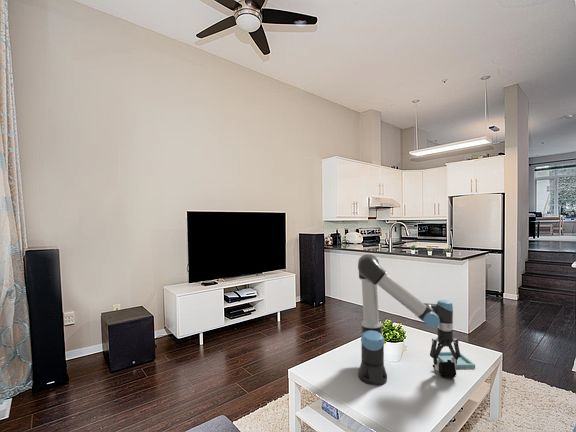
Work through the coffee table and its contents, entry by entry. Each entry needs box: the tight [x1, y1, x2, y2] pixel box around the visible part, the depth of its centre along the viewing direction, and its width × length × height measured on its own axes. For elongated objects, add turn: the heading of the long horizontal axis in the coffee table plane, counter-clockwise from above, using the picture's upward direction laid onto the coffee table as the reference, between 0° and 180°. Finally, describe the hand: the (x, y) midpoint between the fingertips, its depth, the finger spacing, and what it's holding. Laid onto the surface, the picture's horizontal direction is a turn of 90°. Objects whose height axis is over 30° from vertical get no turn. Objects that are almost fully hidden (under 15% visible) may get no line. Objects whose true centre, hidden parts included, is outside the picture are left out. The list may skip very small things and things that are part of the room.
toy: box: [432, 360, 457, 378], centre depth 168 cm, size 9×8×15 cm
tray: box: [438, 351, 476, 369], centre depth 180 cm, size 16×16×2 cm
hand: (445, 369), depth 166 cm, fingers closed on toy, 9 cm apart
